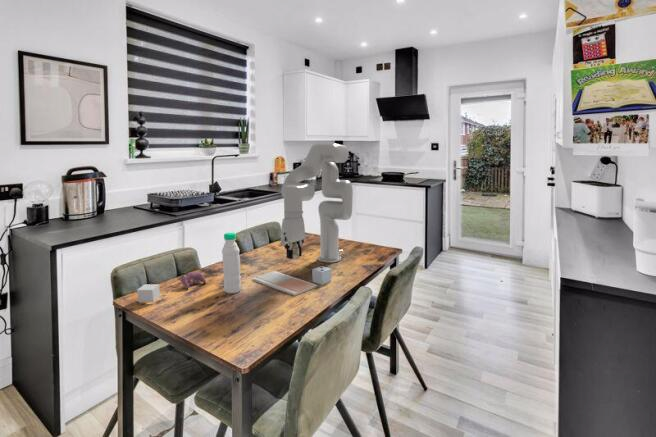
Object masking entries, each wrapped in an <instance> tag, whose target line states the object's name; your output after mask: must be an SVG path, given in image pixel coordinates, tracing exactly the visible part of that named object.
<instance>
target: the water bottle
mask: <svg viewBox="0 0 656 437" xmlns="http://www.w3.org/2000/svg"><path fill="white" fill-rule="evenodd" d="M236 238H237V235H236V233H235V232H226V233H224V235H223V239H224V244H223V247H222V249H221V254H222V270H223V271H222V272H223V283H224V284H223V291H224V292H225V293H226V292H227V294H236V293H239V292H240V291H241V290H242V283H241V280H242V278H241V261H240V260H241V259H240V258H241V257H240V248H239V246H238V244H237V242H236V240H237V239H236Z"/></svg>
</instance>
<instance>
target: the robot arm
mask: <svg viewBox="0 0 656 437" xmlns="http://www.w3.org/2000/svg"><path fill="white" fill-rule="evenodd" d="M348 158H349V148H348V147H347V146H346V145H344V144H339V143H332V142H331V143H329V142H327V143H315V144H313V145H311V147H310V149H309V151H308V153H307V154H306V157H305V159H304V161H303V163H302V164H301V165H300V166H297V167H296V168H294V169H293V170H292V171H291V172H289V173H288V174H287V176H286V177H285V179H284V180H283V183H282V187H281V196H282V198H283V210H284V212H283V213H284V214H283V216H284V218H282V223H281V229H280V230H281V232H280V233H281V234H280V245H281V246H282V247H284V249H285V251H286V258H287V259H289V260H293V250H291V249H292V243H293V242H296V243H297V244H298V247H299V257H302V247H303V244H304V242H305V241H306V240H307V236H306V228H305V221H304V217H303V214H304V211H303V202H306V201H307V202H308V201H311V200H313V198H314V196H315V194H316V191H315V187H314V186H313V184H311V183H307V182H303V181H307V180H309V179H313V178H315V177H317V176H319V175H320V172H321V194H322V196H323V197H324V198H328V200H323V201H321V202H320V203H319V204H318V214H319V220H320V221H319V224H320V227H319V228H320V230H319V231H320V233H319V234H320V255H318V256H317V261H319V262H322V263H328V264H329V263H331V264H332V263H337V262H340V261H341V260H342V256H341V254H342V253H344V249H342V248H341V249H339V230H340V228H339V225H338V222H337V221H336V220H339V221H348V220H350V219H351V218H352V215H353V194H354V191H353V184H352V182H351V181H350V180H346V179H340V178H339V176H340V175H339V168H338V166H337V164H339V163H340V164H342V163H343V164H344V163H346V162H347V161H348ZM329 199H340V200H329Z"/></svg>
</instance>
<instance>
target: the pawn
mask: <svg viewBox="0 0 656 437" xmlns="http://www.w3.org/2000/svg"><path fill="white" fill-rule="evenodd" d="M291 250H293V259H292V260H294V261H295V260H299V259H300V256H299V247H298V244H297V243H296V242H293V243H292V249H291Z"/></svg>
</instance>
